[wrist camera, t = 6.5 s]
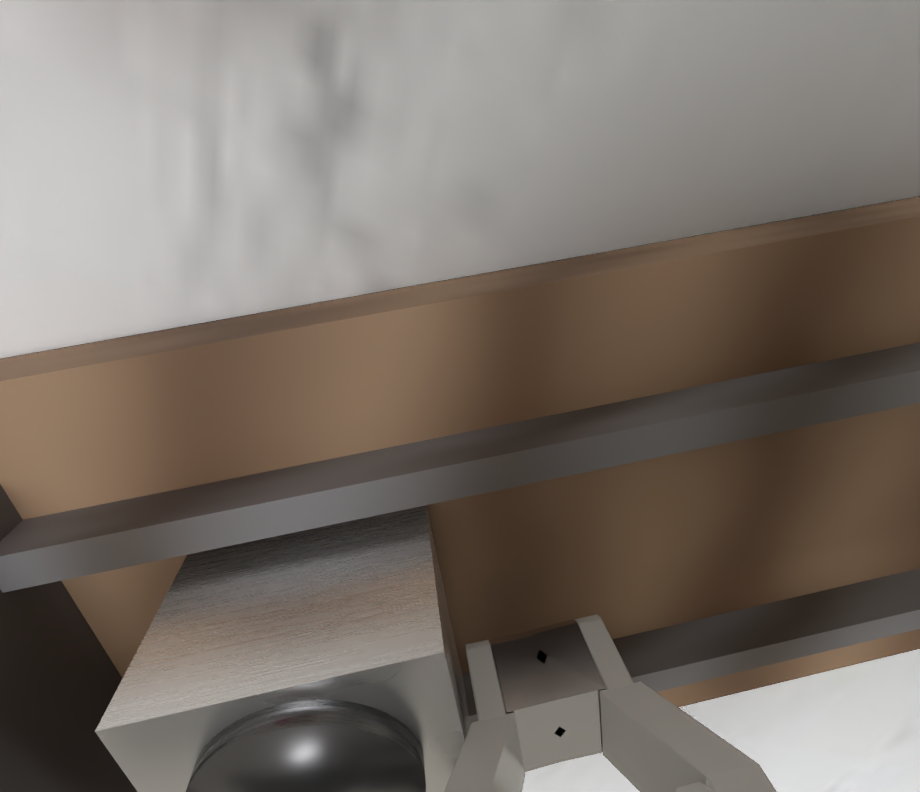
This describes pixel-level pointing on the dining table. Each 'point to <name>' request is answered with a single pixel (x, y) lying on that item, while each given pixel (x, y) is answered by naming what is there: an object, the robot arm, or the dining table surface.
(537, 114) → the dining table surface
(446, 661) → the gauge carriage
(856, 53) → the dining table surface
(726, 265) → the gauge base
